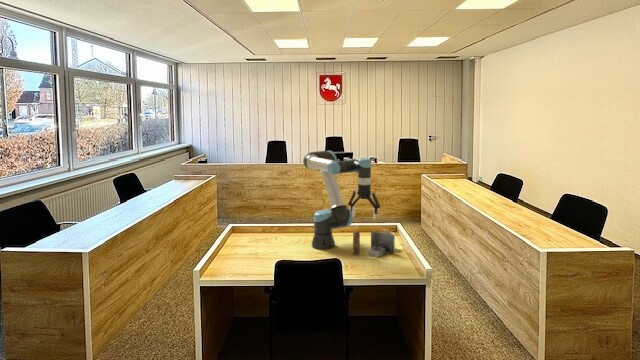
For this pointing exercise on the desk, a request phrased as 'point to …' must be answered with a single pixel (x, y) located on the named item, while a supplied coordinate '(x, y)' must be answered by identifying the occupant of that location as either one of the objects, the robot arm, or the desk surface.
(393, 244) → the bracket
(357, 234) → the handle
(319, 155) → the robot arm
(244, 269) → the desk surface
